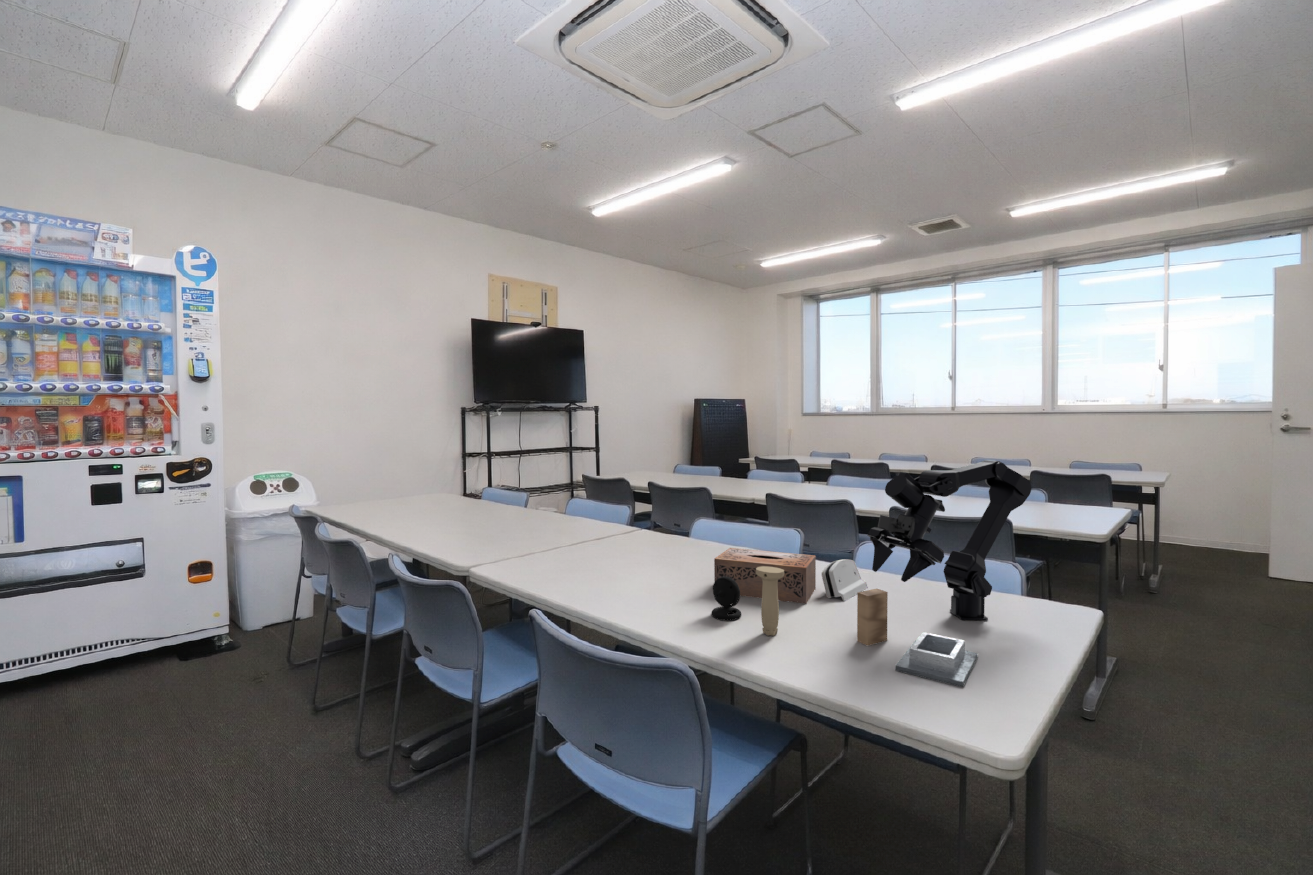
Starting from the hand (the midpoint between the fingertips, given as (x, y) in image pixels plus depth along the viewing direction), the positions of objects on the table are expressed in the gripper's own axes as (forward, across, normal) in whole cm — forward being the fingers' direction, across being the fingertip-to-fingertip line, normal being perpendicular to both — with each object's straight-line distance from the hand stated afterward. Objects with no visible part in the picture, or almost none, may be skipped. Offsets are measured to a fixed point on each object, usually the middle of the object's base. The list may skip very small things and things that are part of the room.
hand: (887, 575), depth 136 cm
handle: (+26, -9, -14) cm, 31 cm away
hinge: (+5, -28, +16) cm, 33 cm away
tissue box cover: (+17, -38, -1) cm, 41 cm away
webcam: (+28, -23, -17) cm, 40 cm away
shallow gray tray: (+13, +18, +4) cm, 23 cm away
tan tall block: (+15, +4, +1) cm, 15 cm away
